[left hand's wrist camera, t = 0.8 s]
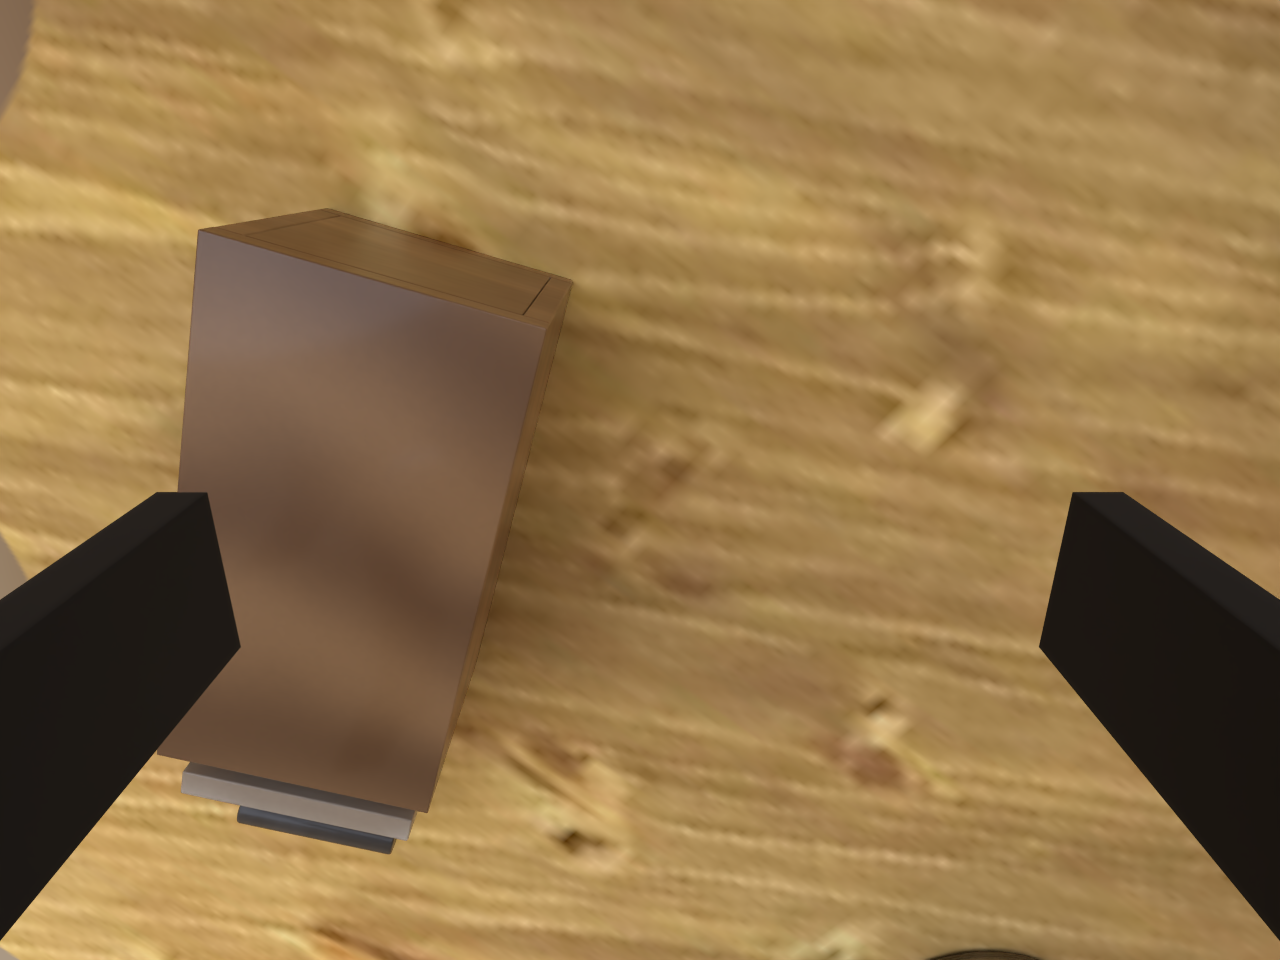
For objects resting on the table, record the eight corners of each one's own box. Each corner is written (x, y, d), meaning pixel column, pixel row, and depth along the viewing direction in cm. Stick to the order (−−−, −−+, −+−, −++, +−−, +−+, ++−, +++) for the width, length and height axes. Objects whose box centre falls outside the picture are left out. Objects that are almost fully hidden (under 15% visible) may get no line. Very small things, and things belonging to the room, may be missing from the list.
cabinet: (476, 661, 42) (427, 813, 32) (271, 612, 41) (156, 754, 31) (573, 280, 35) (547, 328, 25) (326, 207, 34) (197, 228, 24)
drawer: (430, 797, 45) (384, 938, 37) (256, 759, 44) (170, 895, 36) (535, 368, 35) (505, 431, 27) (318, 307, 34) (221, 354, 26)
